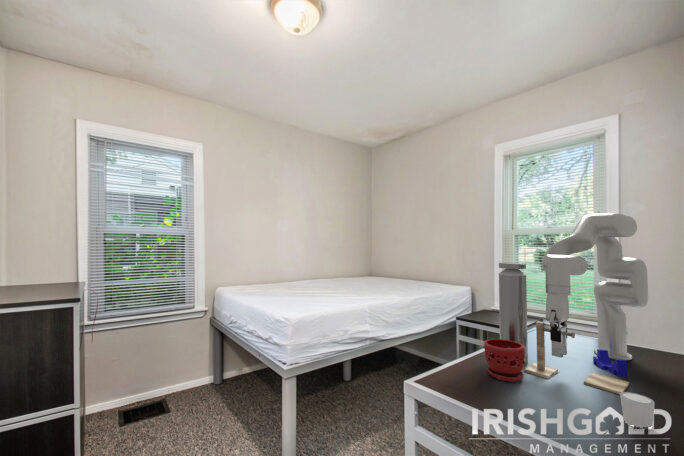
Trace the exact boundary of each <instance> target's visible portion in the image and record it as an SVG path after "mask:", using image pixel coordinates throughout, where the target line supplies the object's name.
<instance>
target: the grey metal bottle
mask: <svg viewBox="0 0 684 456" xmlns="http://www.w3.org/2000/svg"><path fill="white" fill-rule="evenodd" d="M498 268H499V269H503V270H502V271H500V272H499V273H498V301H499V302H498V305H499V307H498V308H499V309H498V310H499V312H498V313H499V318H498V319H499V339H504V340H510V341H515V342H518V343H521V344H522V345H524V349H525V357H524V366H529V352H528V351H529V349H528V348H529V347H528V341H529V340H528V296H527V294H528V293H527V291H528V290H527V273H525V272H524V271H522V270H526V269H527V263H524V262H523V263H522V262H509V261H508V262H504V261H503V262H501V261H500V262H498ZM508 348H510V347H508ZM524 366H523V367H524Z"/></svg>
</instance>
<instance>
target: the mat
mask: <svg viewBox="0 0 684 456" xmlns="http://www.w3.org/2000/svg"><path fill="white" fill-rule="evenodd" d="M583 385H586V386H589V387H593V388H597V389H600V390H603V391H606V392H610V393H613V394H617V395H620V393H622V392H626V390H627V388H628V387H629V386H630V382H629V381H627V380H623V379H620V378H615V377H611V376H607V375H603V374H599V373H597V372H592V373H591V374H590V375H588V376H587V378H586V379H584V381H583Z"/></svg>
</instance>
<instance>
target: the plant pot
mask: <svg viewBox="0 0 684 456" xmlns="http://www.w3.org/2000/svg"><path fill="white" fill-rule="evenodd" d="M483 343H484V344H483V347H484V356H485V360H486V363H487V365H488V367H487V372H488V374H490V376H492V377H493V378H494V379H497V380H500V381H505V382H519V381H521V380H522V379H524V376H525V375H524V373H523V369H524V357H525V349H524V345H522V344H521V343H518V342H515V341H510V340H504V339H500V338H490V339H489V338H488V339H485V341H484V342H483ZM508 347H510V348H508Z"/></svg>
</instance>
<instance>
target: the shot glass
mask: <svg viewBox="0 0 684 456" xmlns="http://www.w3.org/2000/svg"><path fill="white" fill-rule="evenodd" d="M619 396H620V397H619V398H620V404H621V410H622V419H623V422H624V421H625V422H624V423H625V424H626V425H628V424H629V425H628V426H630V425H634V426H636V427H640V428H643V427H651V426H654V425H653V424H654V415H655V414H654V413H655V401H654V400H653V399H651V398H650V397H648V396H646V395H643V394H638V393H635V392H629V391H624V392H622V393H620V394H619Z"/></svg>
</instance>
